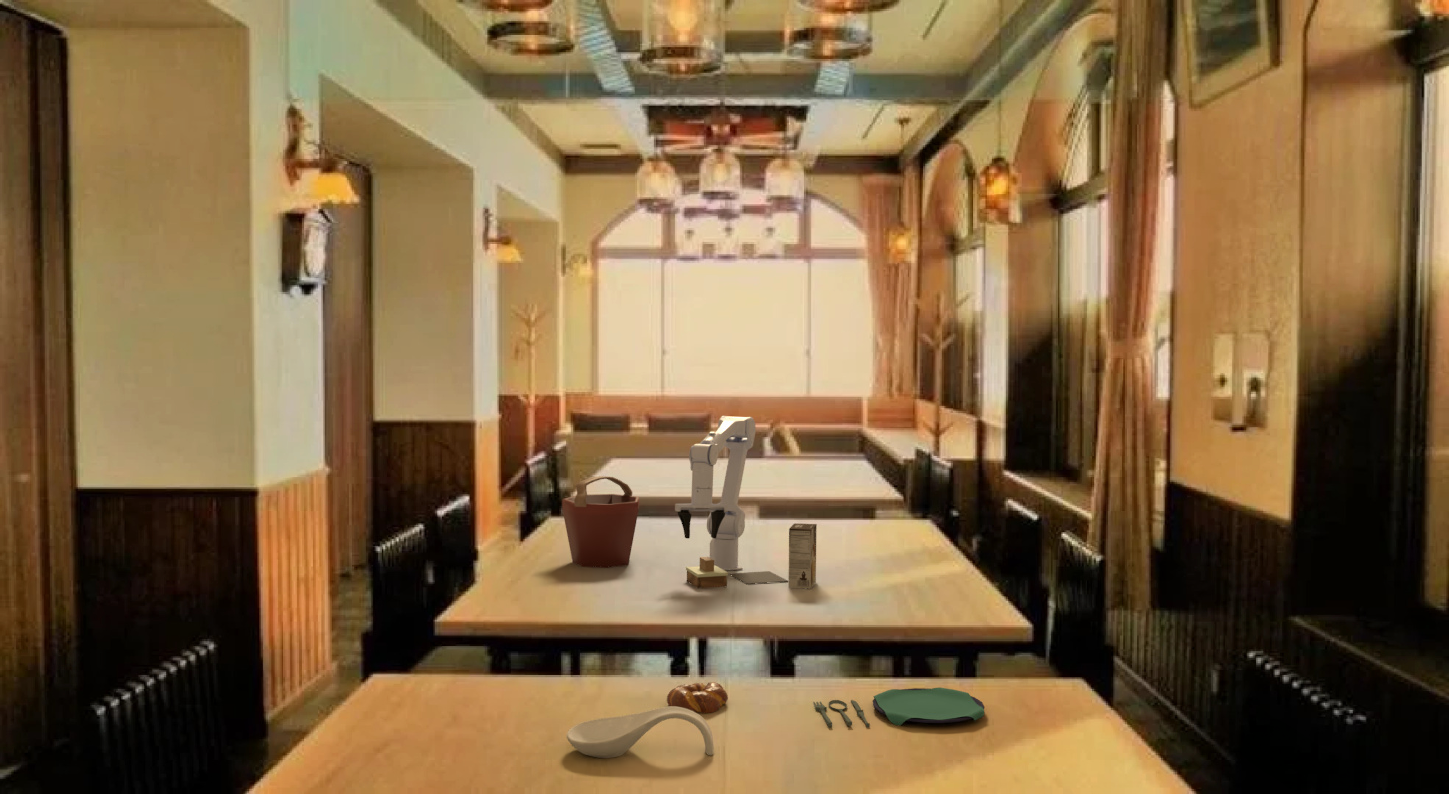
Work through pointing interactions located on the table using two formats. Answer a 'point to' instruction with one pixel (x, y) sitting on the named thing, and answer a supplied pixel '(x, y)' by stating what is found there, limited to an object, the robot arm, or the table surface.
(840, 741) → the table surface
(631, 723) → the spoon rest
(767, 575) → the mat
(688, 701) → the pretzel
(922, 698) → the cutlery set
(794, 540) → the coffee box
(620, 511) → the bucket
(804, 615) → the table surface
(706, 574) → the lid
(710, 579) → the box
